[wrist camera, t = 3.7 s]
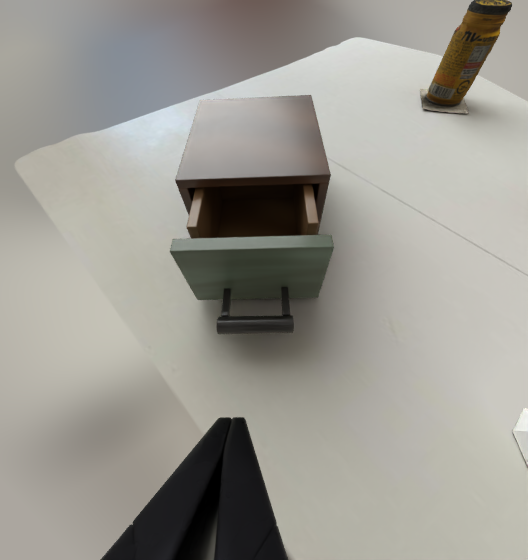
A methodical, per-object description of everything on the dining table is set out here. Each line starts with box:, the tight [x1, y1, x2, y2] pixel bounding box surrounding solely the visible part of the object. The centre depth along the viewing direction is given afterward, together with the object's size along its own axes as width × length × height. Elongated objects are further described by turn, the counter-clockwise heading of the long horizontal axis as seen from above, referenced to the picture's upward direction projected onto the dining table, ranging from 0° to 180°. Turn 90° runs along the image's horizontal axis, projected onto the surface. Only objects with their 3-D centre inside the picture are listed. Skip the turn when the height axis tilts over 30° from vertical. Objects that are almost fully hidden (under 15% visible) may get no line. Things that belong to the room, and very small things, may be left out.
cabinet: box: [175, 95, 331, 235], centre depth 27 cm, size 15×13×9 cm
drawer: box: [170, 184, 334, 334], centre depth 22 cm, size 18×11×7 cm, turn 0°
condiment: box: [420, 0, 512, 114], centre depth 39 cm, size 7×8×12 cm
